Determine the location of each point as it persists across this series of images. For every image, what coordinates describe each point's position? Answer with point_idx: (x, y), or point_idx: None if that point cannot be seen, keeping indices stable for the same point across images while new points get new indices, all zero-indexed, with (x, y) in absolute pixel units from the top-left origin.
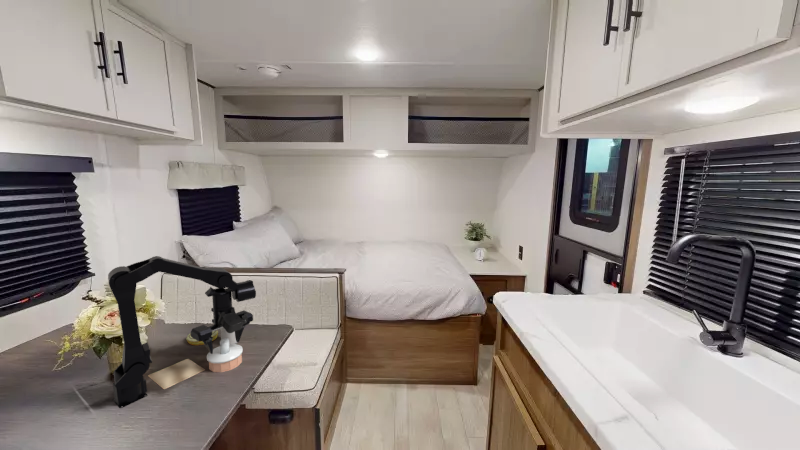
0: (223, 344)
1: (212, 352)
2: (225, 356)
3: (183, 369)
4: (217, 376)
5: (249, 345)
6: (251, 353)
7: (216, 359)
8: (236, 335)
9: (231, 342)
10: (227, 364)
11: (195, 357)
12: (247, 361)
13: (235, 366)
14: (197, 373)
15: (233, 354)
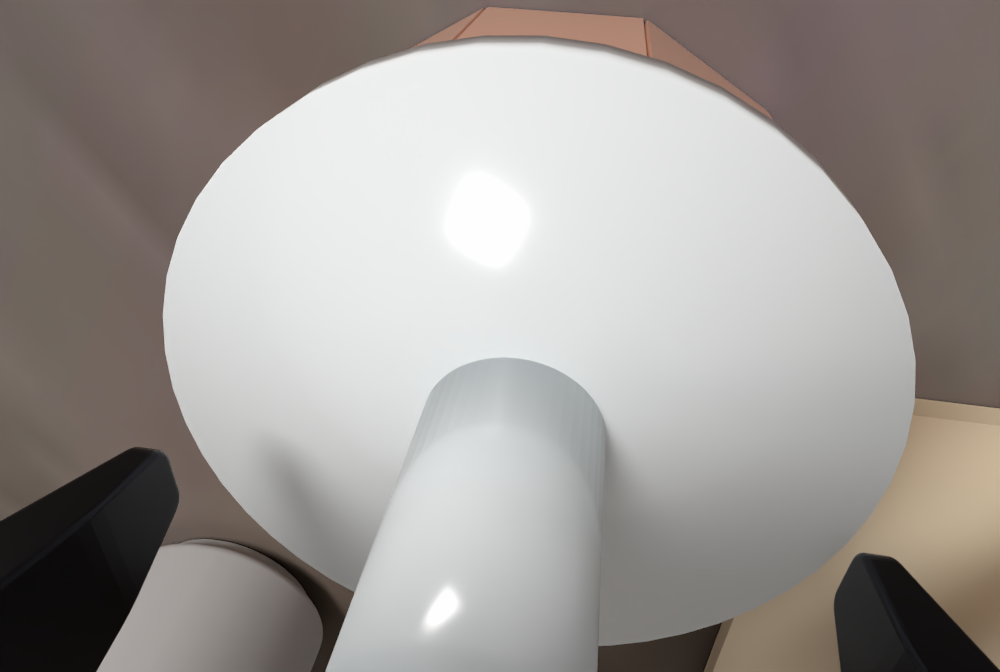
0: (561, 615)
1: (881, 578)
2: (629, 288)
3: None
4: (863, 96)
5: (76, 395)
6: (119, 202)
7: (828, 356)
8: (60, 652)
9: (232, 586)
10: None
11: (625, 664)
12: (264, 40)
13: (528, 18)
14: (939, 418)
15: (461, 195)
